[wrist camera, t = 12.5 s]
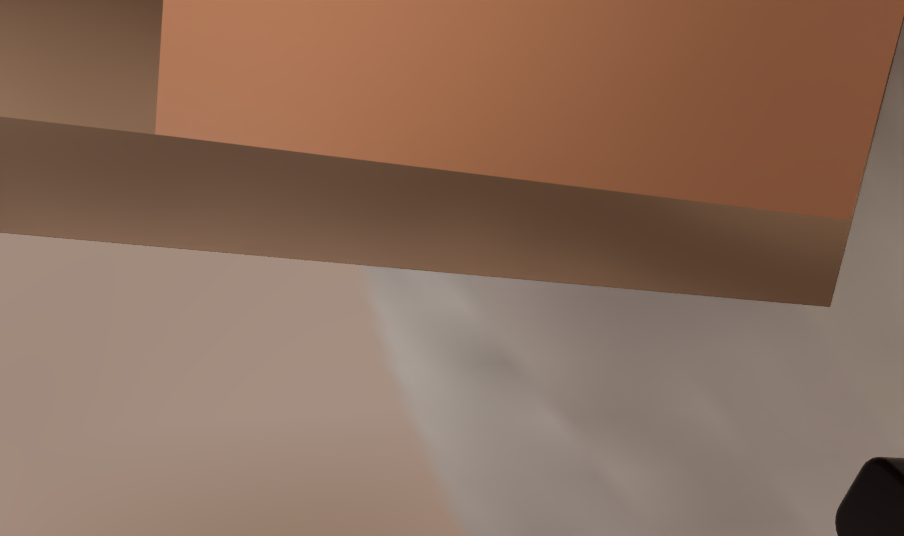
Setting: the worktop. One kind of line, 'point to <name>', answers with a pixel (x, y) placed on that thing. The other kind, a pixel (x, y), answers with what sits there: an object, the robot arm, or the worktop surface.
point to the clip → (548, 89)
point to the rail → (343, 187)
